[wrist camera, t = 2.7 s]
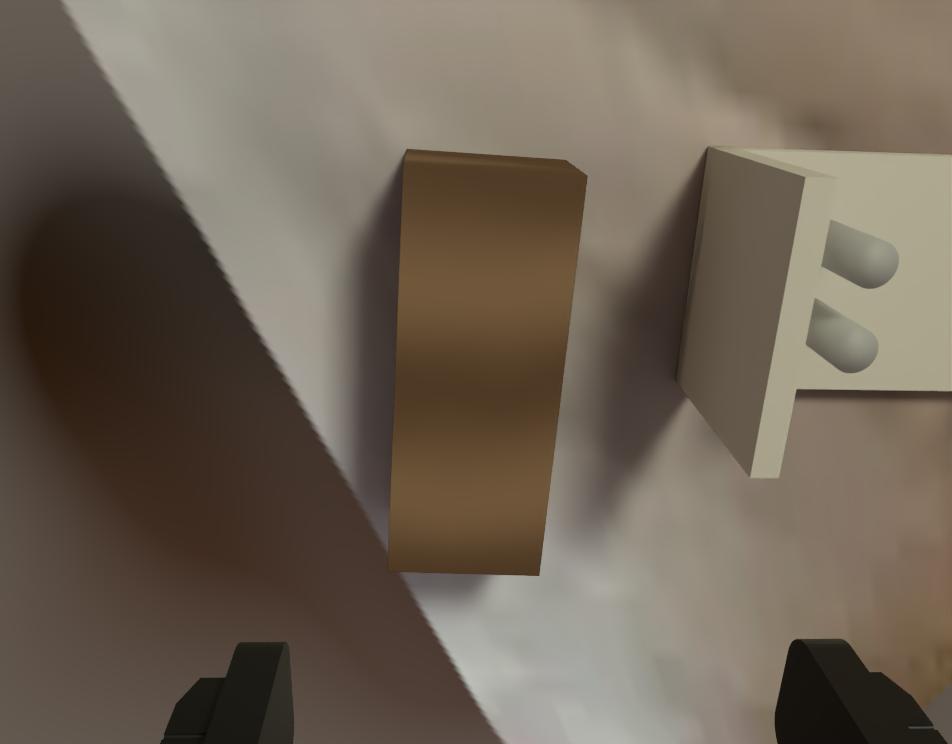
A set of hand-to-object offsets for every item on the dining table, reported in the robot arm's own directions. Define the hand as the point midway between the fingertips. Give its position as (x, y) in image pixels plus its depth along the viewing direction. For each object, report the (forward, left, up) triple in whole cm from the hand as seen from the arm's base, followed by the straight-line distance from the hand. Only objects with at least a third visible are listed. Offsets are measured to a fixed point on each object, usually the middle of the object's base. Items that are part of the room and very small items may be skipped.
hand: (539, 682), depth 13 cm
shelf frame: (+15, +3, -16) cm, 22 cm away
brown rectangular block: (0, 0, -16) cm, 16 cm away
